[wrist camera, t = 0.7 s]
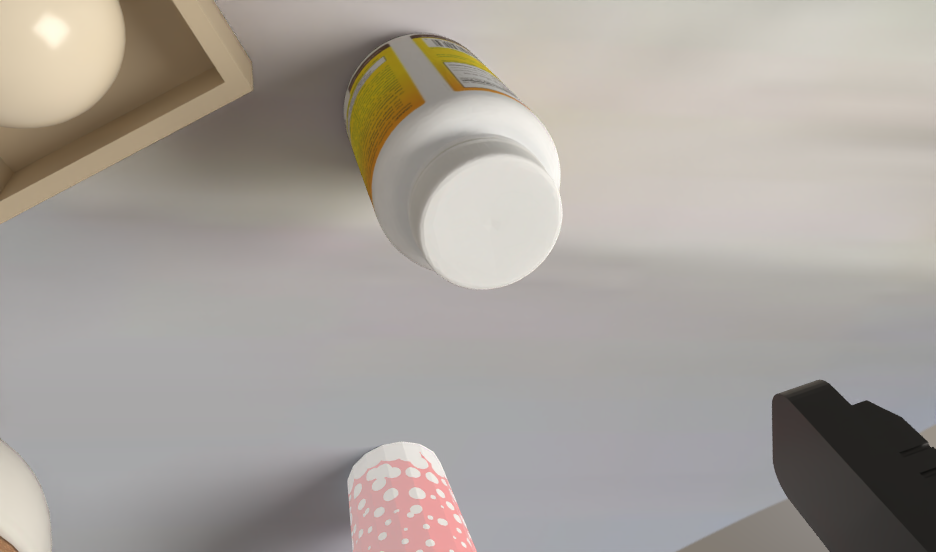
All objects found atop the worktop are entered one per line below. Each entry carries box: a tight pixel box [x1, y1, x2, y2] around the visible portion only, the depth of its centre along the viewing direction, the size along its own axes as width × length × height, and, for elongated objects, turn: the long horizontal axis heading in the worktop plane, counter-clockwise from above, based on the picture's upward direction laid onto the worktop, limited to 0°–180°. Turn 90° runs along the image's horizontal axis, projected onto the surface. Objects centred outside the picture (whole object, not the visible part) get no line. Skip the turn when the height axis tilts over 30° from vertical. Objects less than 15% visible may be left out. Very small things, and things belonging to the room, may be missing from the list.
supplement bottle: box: [344, 33, 562, 290], centre depth 25 cm, size 6×6×10 cm
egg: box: [0, 0, 126, 129], centre depth 22 cm, size 6×6×6 cm
